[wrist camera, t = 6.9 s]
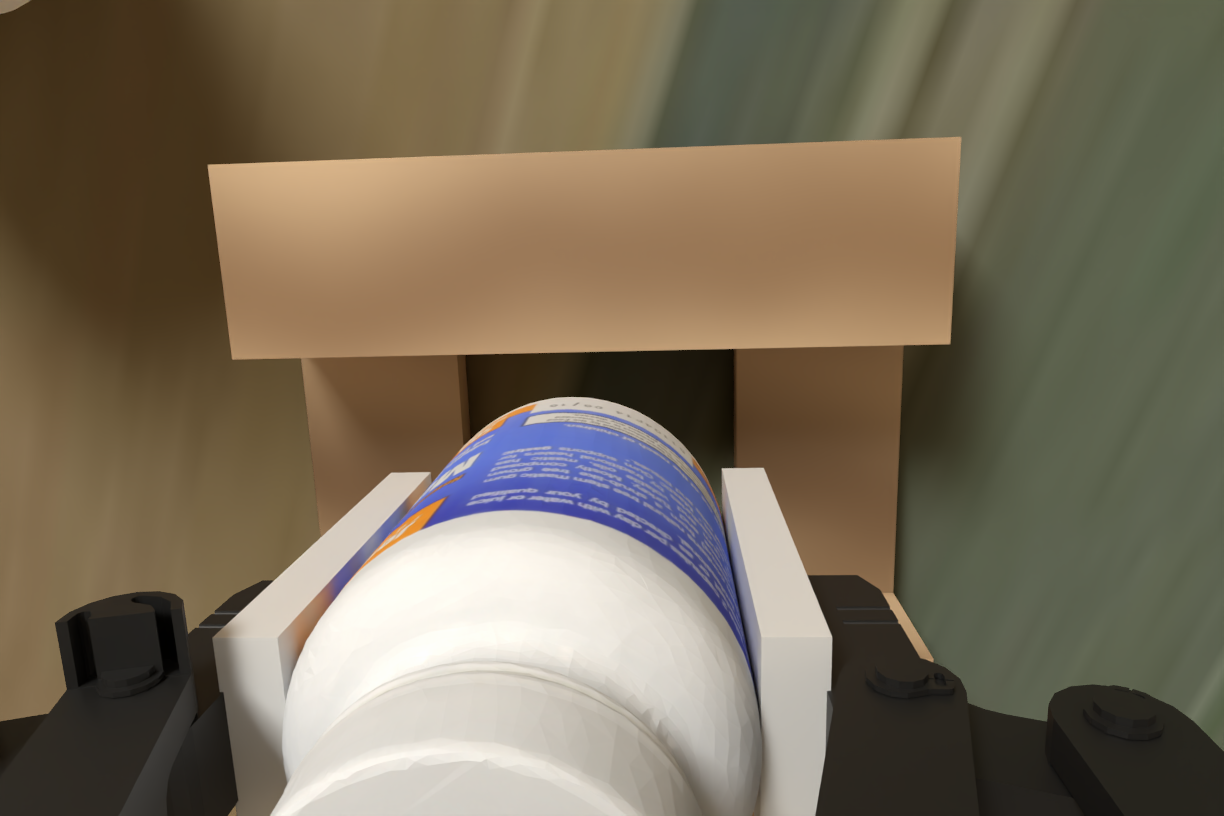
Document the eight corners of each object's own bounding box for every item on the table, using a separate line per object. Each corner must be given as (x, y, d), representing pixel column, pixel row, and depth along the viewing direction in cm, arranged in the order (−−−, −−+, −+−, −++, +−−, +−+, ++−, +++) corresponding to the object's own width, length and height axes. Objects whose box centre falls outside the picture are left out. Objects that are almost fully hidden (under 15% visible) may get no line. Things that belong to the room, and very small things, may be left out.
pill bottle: (465, 362, 16) (161, 577, 6) (754, 428, 16) (890, 748, 6) (417, 629, 17) (98, 1149, 7) (684, 691, 17) (708, 1295, 7)
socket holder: (295, 174, 20) (207, 164, 16) (901, 153, 19) (961, 137, 15) (352, 710, 23) (288, 809, 19) (879, 713, 22) (924, 818, 18)
